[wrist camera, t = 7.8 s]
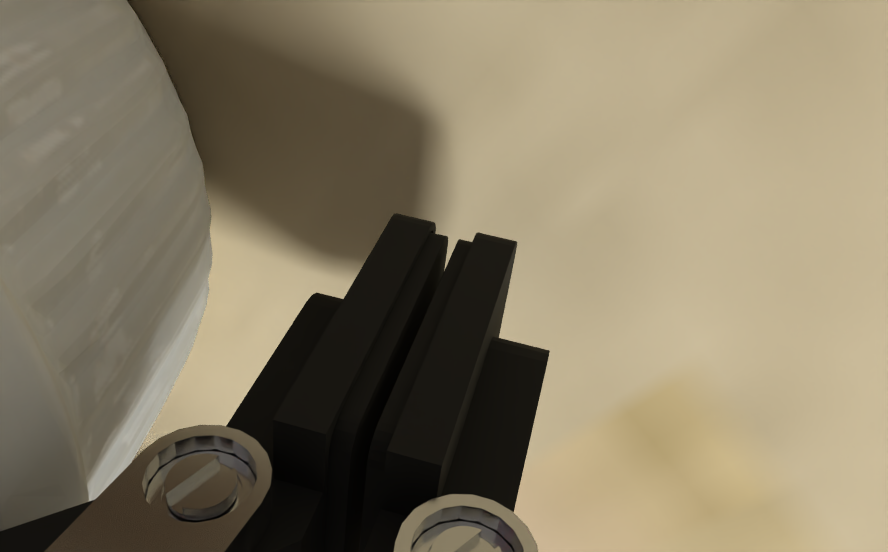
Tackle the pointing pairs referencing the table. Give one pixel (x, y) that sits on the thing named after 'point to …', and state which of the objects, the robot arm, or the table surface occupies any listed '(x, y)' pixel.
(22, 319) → the ramekin
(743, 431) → the table surface
